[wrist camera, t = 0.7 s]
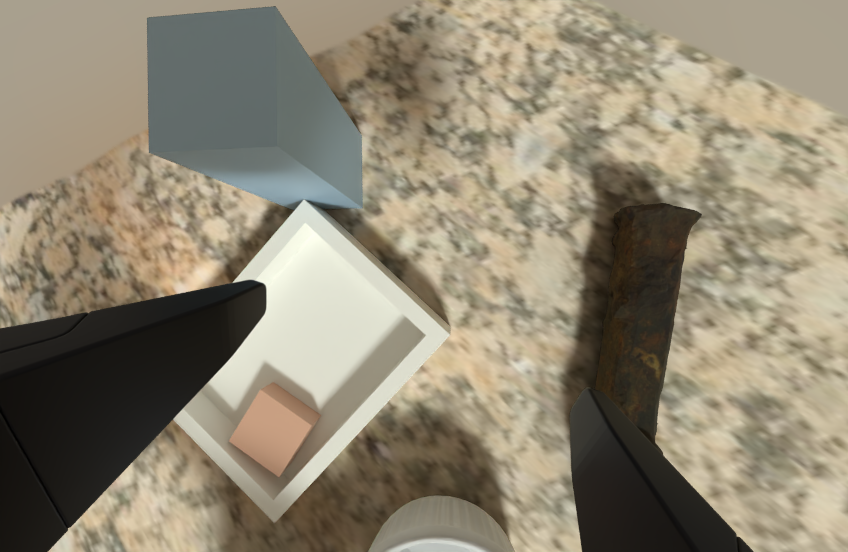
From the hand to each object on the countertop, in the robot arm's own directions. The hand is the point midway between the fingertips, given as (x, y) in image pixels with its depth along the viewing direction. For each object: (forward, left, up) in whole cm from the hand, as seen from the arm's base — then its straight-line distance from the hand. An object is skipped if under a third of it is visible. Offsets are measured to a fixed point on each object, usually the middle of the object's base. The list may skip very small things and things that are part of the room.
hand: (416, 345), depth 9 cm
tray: (-9, +4, -13) cm, 16 cm away
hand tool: (+5, -11, -14) cm, 19 cm away
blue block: (+1, +12, -13) cm, 18 cm away
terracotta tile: (-13, +2, -12) cm, 18 cm away
